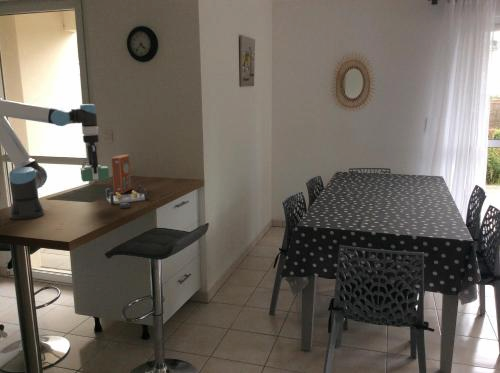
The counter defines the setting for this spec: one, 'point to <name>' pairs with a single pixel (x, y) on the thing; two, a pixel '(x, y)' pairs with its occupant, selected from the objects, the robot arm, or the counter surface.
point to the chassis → (127, 196)
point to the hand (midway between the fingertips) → (94, 178)
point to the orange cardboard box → (121, 173)
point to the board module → (87, 175)
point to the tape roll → (124, 205)
